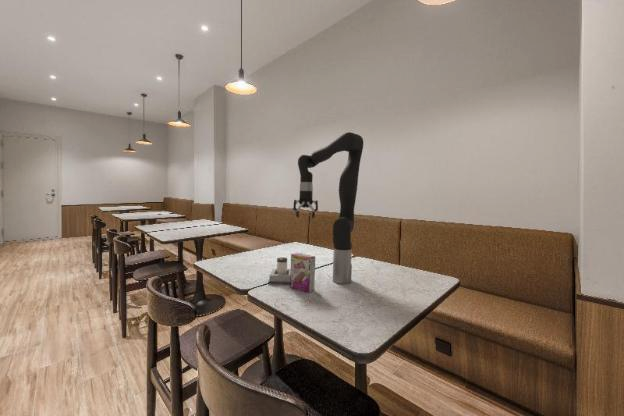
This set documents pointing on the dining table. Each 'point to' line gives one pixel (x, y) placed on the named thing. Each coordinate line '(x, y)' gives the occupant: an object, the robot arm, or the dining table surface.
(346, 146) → the robot arm
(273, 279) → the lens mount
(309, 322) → the dining table surface
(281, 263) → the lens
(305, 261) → the candy bar box
